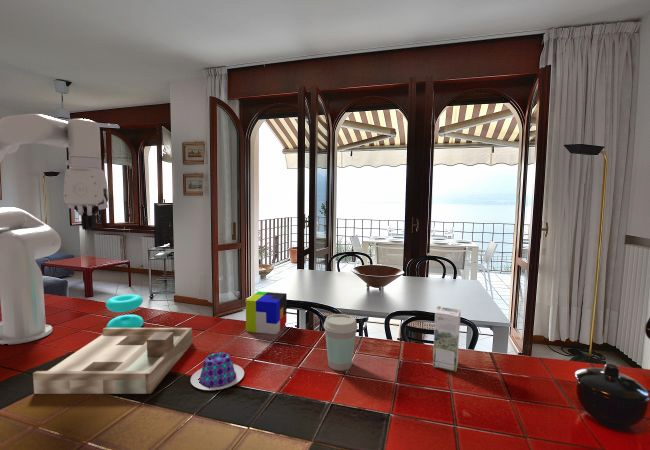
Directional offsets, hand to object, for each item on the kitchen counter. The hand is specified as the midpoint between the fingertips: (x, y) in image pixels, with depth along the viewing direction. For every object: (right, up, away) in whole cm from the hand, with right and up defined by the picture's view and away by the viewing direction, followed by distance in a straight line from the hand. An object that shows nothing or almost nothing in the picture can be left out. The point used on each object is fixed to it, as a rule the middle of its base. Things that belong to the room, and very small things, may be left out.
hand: (88, 228), depth 100 cm
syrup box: (+99, -35, -11) cm, 106 cm away
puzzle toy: (+49, -32, +12) cm, 60 cm away
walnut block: (+27, -31, -14) cm, 43 cm away
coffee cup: (+72, -35, -12) cm, 81 cm away
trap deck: (+18, -34, -13) cm, 41 cm away
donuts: (+5, -32, +9) cm, 33 cm away
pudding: (+43, -35, -19) cm, 59 cm away
